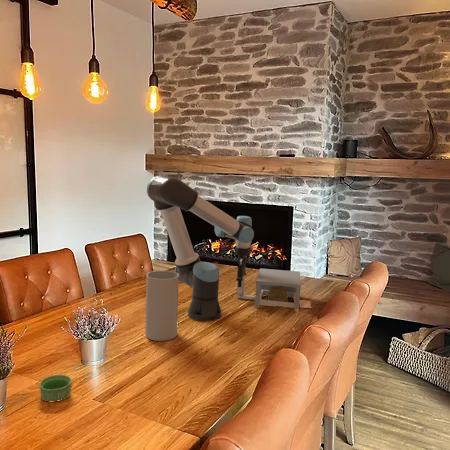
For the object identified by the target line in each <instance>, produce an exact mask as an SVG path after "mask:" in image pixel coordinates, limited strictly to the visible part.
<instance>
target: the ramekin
mask: <svg viewBox="0 0 450 450" xmlns="http://www.w3.org/2000/svg"><path fill="white" fill-rule="evenodd" d="M72 381H73V379H72V378H71V376H68V375H65V374H55V375H53V374H52V375H50V376H47V377H45V378H43V379H42V380H40V382H39V385H38V386H39V390H40V398H41V397H42V398H41V400H43V399H44V400H46V401H57V400H61V399H64V398H66V397H67V396H68V395H69V394H71V388H72V383H73V382H72ZM69 396H70V395H69ZM69 396H68V397H69ZM68 397H67V398H68ZM67 398H66V399H67ZM44 400H43V401H44ZM64 400H65V399H64ZM46 401H45V402H46Z"/></svg>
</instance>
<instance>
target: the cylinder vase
mask: <svg viewBox="0 0 450 450" xmlns="http://www.w3.org/2000/svg"><path fill="white" fill-rule="evenodd" d="M179 282H180V280H179V274H178V273H176V272H175V271H171V270H153V271H149V272H147V273H146V279H145V284H146V285H145V327H144V328H145V331H144V332H145V333H144V334H145V337H146V338H147V339H149V340H151V341H154V342H167V341H171V340H173V339H175V338H176V336H177V335H178V317H179V316H178V315H179V313H178V312H179V311H178V310H179Z"/></svg>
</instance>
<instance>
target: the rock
mask: <svg viewBox="0 0 450 450" xmlns="http://www.w3.org/2000/svg"><path fill="white" fill-rule="evenodd" d="M267 297H268V300H270V301H281V302H287V301H288V302H289V300H288V299H289V297H287V292H286V290H285V289H284V288H283V287H282V286H273V287H272V288H270V289H269V291H268V295H267Z"/></svg>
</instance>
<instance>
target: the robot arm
mask: <svg viewBox="0 0 450 450" xmlns="http://www.w3.org/2000/svg"><path fill="white" fill-rule="evenodd" d="M146 194H147V196H148V197H149V199H150V200H152V201H153V204H154V207H155V209H156V211H158V212H160V213H161V217H162V219H163V221H164V225H165V229H166V230H167V234H168V237H169V239H170V243H171V245H172V248H173V251H174V254H175V256H176V259H175V261H174V264H175V267H174V272H176V273H178V274H179V282H181V283H182V284H185V285H187V286H189V287H190V288H192V294H191V295H192V297H191V301H190V303H189V307H188V310H187V317H188V318H190V319H191V320H194V321H199V322H200V321H201V322H212V321H216V320H219V319H220V318H221V317H222V308H221V306H220V302H219V286H220V285H219V284H220V268H219V267H218V265H216V263H215V264H214V263H211V262H207V261H201V259H200V255H199V253H197V252H195V251H194V247H193V245H192V241H191V238H190V235H189V232H188V229H187V226H186V223H185V220H184V216H183V214H182V211H181V210H183V211H185V212H188V211H189V212H191V213H192V214H194V215H196V216H197V217H199V218H201V219H202V220H204V221H206V222H207V223H209V224H210V225H212V226H213V227H214V233H215V235H216V237H219V238H229V239H232V240H234V241H235V247H234V251H235V252H234V253H235V255H236V256H238V258H237V261H238V262H237V271H238V274H237V278H236V279H235V281H236V282H237V283H236V294H237V293H242V289H243V270H244V269H245V270H246V265H247V256H250V255H251V243H253V242H252V240H253V239H254V237H255V231H254V229H253V228H252V226H253V225H252V223H253V222H252V217H250V216H248V215H238V216H237V217H236V219H235V218H233V217H232V216H230V215H229V214H227V213H226V212H224V211H223V210H222V209H220V208H218V207H217V206H215V205H214V204H212V203H211V202H209V201H207V200H206V199H204V198H203V197H201V196H200V195H199V192H198V191H197V190H195V189H193V188H192V187H191V186H190V185H188V184H186V183H185V182H184V181H183V180H181V179H179V178H178V177H172V176H166V175H157V176H156V175H155V176H154V177H152V178H151V179H150V180H149V182H148V184H147V185H146ZM246 276H247V273H246V274H245V276H244V285H245V284H246V283H245V282H246V281H245V280H246V279H245V278H246Z"/></svg>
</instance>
